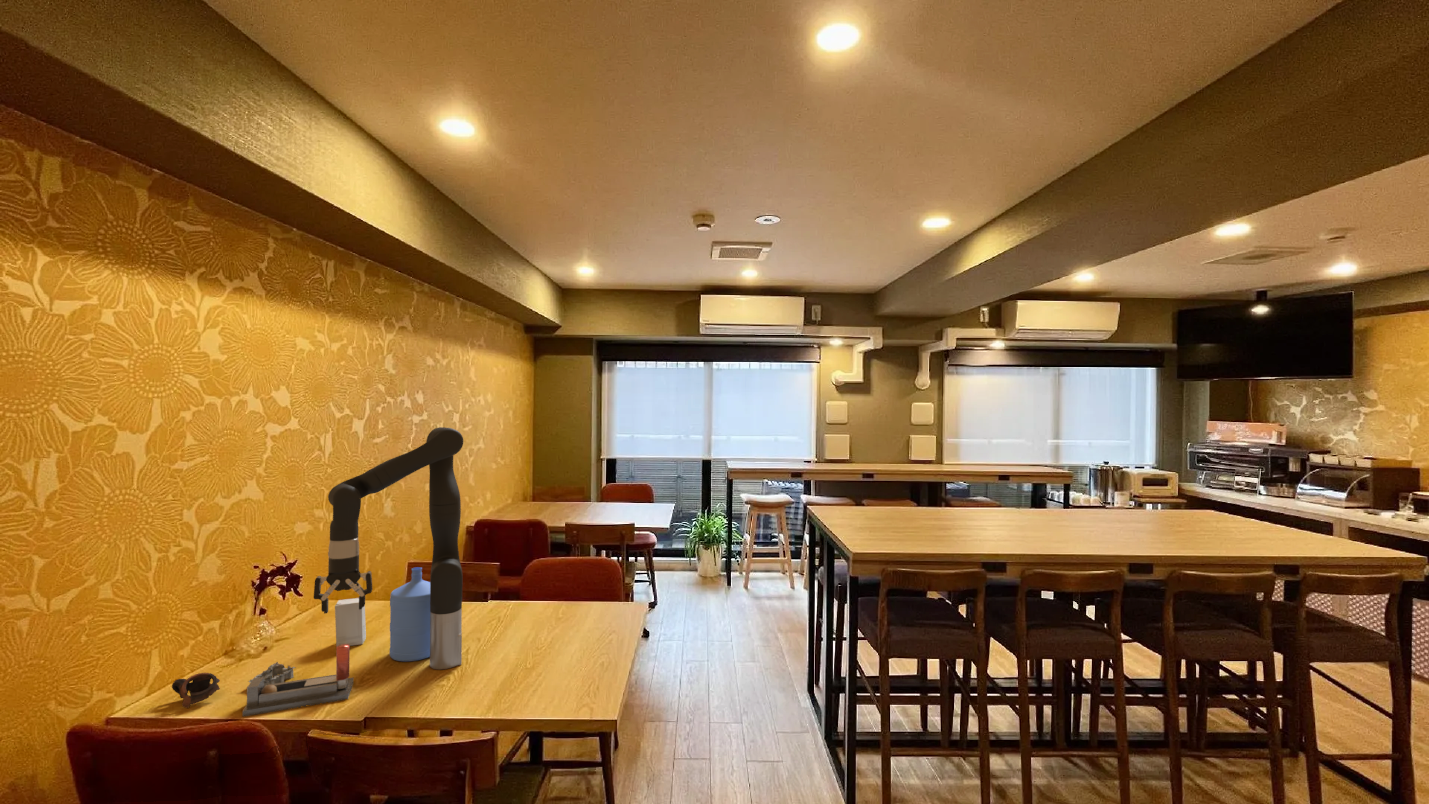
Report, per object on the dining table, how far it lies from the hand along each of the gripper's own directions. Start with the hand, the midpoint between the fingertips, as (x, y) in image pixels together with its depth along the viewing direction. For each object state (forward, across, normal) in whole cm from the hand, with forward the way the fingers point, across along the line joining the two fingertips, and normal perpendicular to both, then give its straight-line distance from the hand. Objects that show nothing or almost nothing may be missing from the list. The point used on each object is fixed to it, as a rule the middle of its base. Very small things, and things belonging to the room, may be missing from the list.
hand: (343, 610), depth 173 cm
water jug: (+24, -18, -22) cm, 37 cm away
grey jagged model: (+24, +20, -15) cm, 34 cm away
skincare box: (+24, +3, -39) cm, 46 cm away
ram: (+21, +4, 0) cm, 22 cm away
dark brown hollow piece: (+24, +37, -10) cm, 45 cm away
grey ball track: (+23, +10, 0) cm, 25 cm away
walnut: (+22, +18, 0) cm, 28 cm away
